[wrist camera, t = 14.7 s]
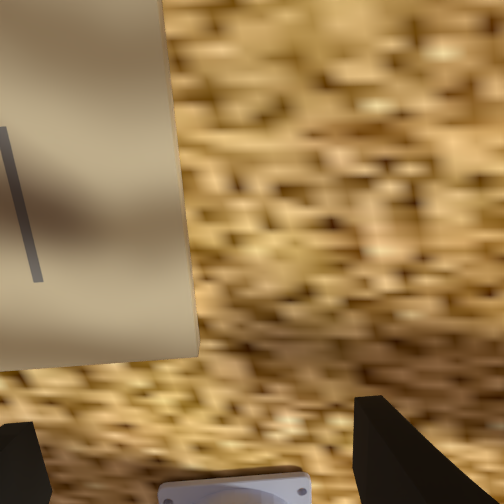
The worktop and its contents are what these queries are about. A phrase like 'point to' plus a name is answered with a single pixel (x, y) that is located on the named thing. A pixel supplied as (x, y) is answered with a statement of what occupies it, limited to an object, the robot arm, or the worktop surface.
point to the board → (90, 188)
